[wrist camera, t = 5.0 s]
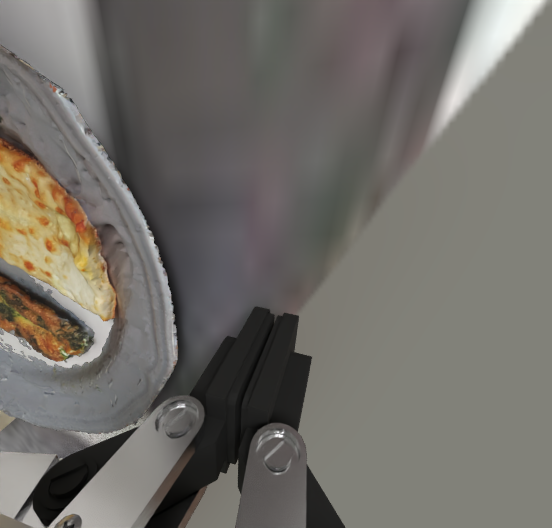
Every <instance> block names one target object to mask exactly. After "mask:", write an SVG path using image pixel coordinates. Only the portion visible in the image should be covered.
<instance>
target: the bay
mask: <svg viewBox="0 0 552 528" xmlns="http://www.w3.org/2000/svg"><path fill="white" fill-rule="evenodd" d="M2 411H3V410H2ZM2 411H0V431H1V430H3V429H4V428H5V427H6V426H7V425H8V424H10V423H11V422H12V421H13V420H14V419H15V417H10V416H8V415H6V414H5V413H4V412H2Z"/></svg>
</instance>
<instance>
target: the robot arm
mask: <svg viewBox="0 0 552 528" xmlns="http://www.w3.org/2000/svg"><path fill="white" fill-rule="evenodd" d="M298 321H299V316H297V315H292V314H288V313H284V315H283V316H279V315H278V317H277V319H276V321H275V324H274V314H270V310H269V309H265V308H260V307H255V308H254V309H253V311H252V313H251V314H250V316H249V318H248V320H247V321H246V323H245V325H244V327H243V329H242V330H241V332H240V334H239V336H238V337H237V338H234V337H229V336H227V337H226V338H225V339H224V341H223V342H222V344H221V345H220V347H219V349H218V350H217V352H216V353H215V355H214V357H213V358H212V360H211V361H210V363H209V365H208V366H207V368H206V369H205V371H204V373H203V374H202V376H201V377H200V379H199V381H198V382H197V384H196V386H195V387H194V389H193V390H192V392H191V394H190V395H189V396H188V395H179V396H175V397H172V398H170V399H168V400H166V401H164V402H163V403H161V404H160V405H159V406H158V407H157V408H156V409H155V410H154V411H153V412H152V413H151V414H150V416H149V417H148V418H147V419H146V420H145V421H144V422H143V423H142V424H141V425H140V426H139V427H136V428H134V429H132V430H129V431H127V432H124V433H122V434H119V435H117V436H115V437H112V438H110V439H107V440H105V441H103V442H100V443H98V444H95V445H93V446H90V447H88V448H86V449H83V450H81V451H78V452H76V453H73V454H71V455H69V456H67V457H66V458H58V456H57V454H38V453H19V452H1V451H0V528H185V527H186V525H187V523H188V521H189V520H190V518H191V516H192V514H193V513H194V511H195V509H196V507H197V506H198V504H199V502H200V500H201V498H202V497H203V495H204V493H205V491H206V488H207V485H208V484H210V483H212V482H214V481H216V480H217V479H218V476H219V474H220V472H223V473H227V470H228V468H229V465H230V463H232V464H236V462H237V460H238V462H239V463H238V488H239V491H240V493H241V498H240V504H239V510H238V515H237V520H236V526H235V528H345V526H344V524H343V523H342V521H341V520H340V518H339V516H338V515H337V513H336V511H335V510H334V508H333V507H332V505H331V503H330V502H329V500H328V498H327V497H326V495H325V493H324V492H323V490H322V489H321V487H320V485H319V484H318V482H317V480H316V479H315V477H314V475H313V474H312V472H311V470H310V469H309V467H308V466H307V453H306V447H305V443H304V441H303V439H302V437H301V436H300V434H299V433H298V428H299V423H300V418H301V412H302V408H303V402H304V397H305V392H306V387H307V382H308V376H309V371H310V365H311V359H312V357H311V356H307V355H303V354H299V353H295V352H294V350H295V342H296V335H297V327H298Z"/></svg>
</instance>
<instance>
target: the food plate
mask: <svg viewBox="0 0 552 528" xmlns="http://www.w3.org/2000/svg"><path fill="white" fill-rule="evenodd" d="M39 74H40V73H39V72H38V71H36V70H34V69H33V68H32V67H31V66H30V64H28V63H27V62H25V61H24V60H22V59H20V58H18V57H17V56H16V55H15V54H14V53H12V52H10V51H9V50H8V49H6V48H5V47H3V46H2V45H0V334H1V335H4V332H3V331H2V329H4V330H5V331H6V332H8V333H10V334H12V335H14V336H16V337H17V338H18V340H19V342H20V343H21V344H22V345H23V346H26V347H28V348H29V349H30V350H31V348H30V347H29V346H27V344H26V343H27V342H28V343H29V344H30V345H31V346H32V347H33V349H34V350H36V351H37V352H39V353H42V355H43V356H44V357H47V358H48V359H50V360H54V361H56V362H58V361H63V360H64V361H65V362H67V361H66V359H67V358H69V357H73V355H77V356H79V357H80V356H81V355H82V354H84V353H85V352H86V351H88V349H89V348H90V347H91V345H93V341H92V340H91V338H93V337H94V332H93V330H92V329H91V328H90V327H88V326H87V325H85V323H84V321H82V320H79V318H78V317H77V316H76V315H74V314H73V313H72V312H70V311H69V310H67V309H65V308H64V307H62V306H61V305H60V304H59V303H58V302H57V301H56V300H55V299H54V298H52V297H51V296H50V294H51V293H52V290H50V289H48V290H47V292H44V291H43V286H41V285H40V284H37V286H36V283H35V280H34V279H33V278H31V277H30V276H29V275H32V276H33V277H36V278H38V279H39V280H41V281H44V282H46V283H48V284H49V285H51V286H52V287H54V288H56V289H57V290H58V291H59V292H60V293H61V294H63V295H64V296H67V297H69V298H70V299H72V300H73V301H74V302H77V303H78V304H80V305H81V306H82V308H84V309H87V310H89V311H91V312H92V313H94V314H97V315H99V316H100V317H101V319H102V320H103V321H108V320H109V319H113V318H114V325H113V326H112V328H111V331H110V332H109V337H108V338H107V340H106V343H105V346H104V347H103V348H102V353H101V355H100V356H99V357H97V358H95V359H94V360H93V361H92V362H90V363H88V362H85V363H84V364H83V366H82V367H81V366H79V365H77V364H75V365H73V366H72V368H64V367H62V366H58V365H57V364H55V365H54V366H55V367H52V366H48V365H47V364H46V362H44V361H42V360H41V359H40V360H38V359H37V358H36V357H32V356H29V355H28V357H29V358H30V359H31V360H33V362H31V361H29V360H27V359H25V358H24V357H25V355H24V354H23V353H24V352H23V351H21V352H22V354H23V355H24V357H23V356H22V355H19V354H16V353H14V352H13V351H12V350H13V349H12V346H10V345H9V344H5V345H6V346H8V347H9V348H6V347H5V346H3V344H2V343H1V342H0V345H1V346H2V347H3V348H4V349H8V351H10V352H6V351H5V350H4V349H2V348H0V411H2V410H3V411H2V412H4V413H5V414H6V415H8V416H10V417H15V418H19V419H22V420H24V422H25V421H27V422H30V423H32V424H34V426H40V427H45V428H52V429H56V430H59V431H67V430H68V431H77V432H80V431H81V432H87V433H88V434H89V433H95V434H101V432H102V433H104V434H105V433H107V434H108V433H110V432H111V433H112V432H113V431H114V430H115V431H116V430H117V431H118V430H121V429H123V428H126V427H127V426H128V425H131V424H136V423H137V422H138V421H137V420H138V418H141V417H142V416H143V414H145V413H146V412H147V410H148V409H149V408H150V406H151V404H152V403H153V401H154V400H155V399H156V397H157V396H158V394H159V393H160V391H161V390H162V388H163V387H164V385H165V384H166V381H167V379H168V378H169V377H170V374H171V373H173V371H174V370H173V369H174V368H175V365H176V363H177V360H178V359H177V357H178V346H177V342H178V341H177V340H176V338H177V334H176V333H177V332H176V330H177V329H176V326H175V325H173V322H174V321H175V320H174V319H175V318H174V317H175V314H173V312H172V311H173V310H174V309H173V307H174V306H172V305H171V303H173V302H171V292H170V290H169V288H170V287H169V286H168V285H167V284H168V280H167V278H168V277H167V273H166V272H165V269H164V268H163V267H162V265H163V261H160V259H161V257H159V256H160V255H158V253H159V249H158V246H157V245H155V244H154V236H153V235H152V232H151V231H150V230H149V229H148V227H150V226H148V225H147V224H146V220H144V216H143V215H142V213H141V210H139V206H138V205H137V203H136V199H135V198H133V195H132V194H131V190H130V189H129V188H128V187H127V185H126V184H124V183H125V182H124V181H123V179H122V177H121V173H120V172H119V171H118V170H117V168H116V166H115V164H114V163H113V161H112V160H110V157H108V154H107V153H106V151H105V150H104V148H103V146H102V145H101V143H100V142H99V141H98V140H97V138H96V137H95V136H94V135H93V133H92V131H91V130H90V129H89V127H88V126H87V124H86V123H85V120H84V119H83V118H82V116H81V114H80V112H79V111H78V108H77V106H76V105H75V104H74V102H73V101H72V99H70V98H65V97H66V96H67V94H64V92H63V88H61V89H62V90H61V89H59V88H60V86H59V88H57V87H56V86H58V85H56V84H55V83H54V84H55V85H56V86H53V84H52V83H53V82H52V81H51V82H50V80H49V79H47V78H46V77H45V76H43V75H41V74H40V75H41V76H39ZM42 76H43V77H42ZM44 78H46V79H45V81H43V79H44ZM114 166H115V168H114ZM22 280H23V281H24V282H23V281H22ZM1 340H2V339H1ZM20 340H23V342H21V341H20ZM2 341H3V340H2ZM26 341H27V342H26ZM14 350H15V349H14ZM166 378H167V379H166ZM141 419H142V418H141ZM135 421H136V422H135Z"/></svg>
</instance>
